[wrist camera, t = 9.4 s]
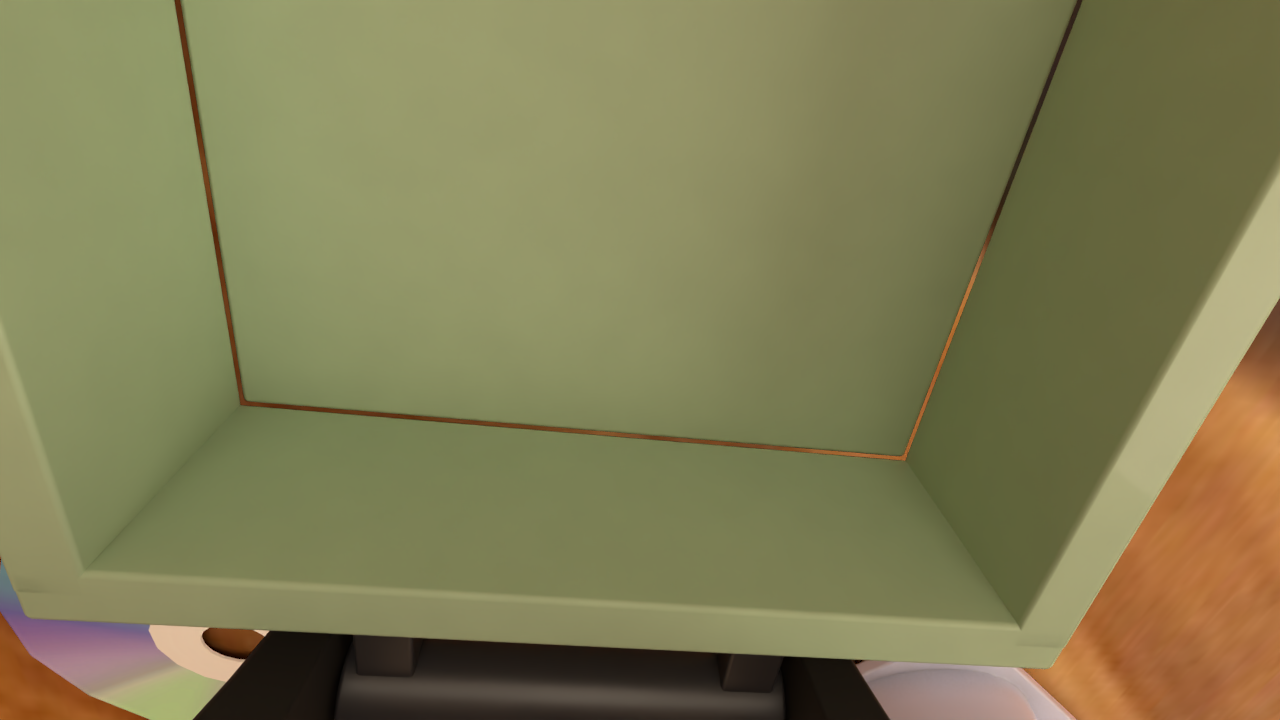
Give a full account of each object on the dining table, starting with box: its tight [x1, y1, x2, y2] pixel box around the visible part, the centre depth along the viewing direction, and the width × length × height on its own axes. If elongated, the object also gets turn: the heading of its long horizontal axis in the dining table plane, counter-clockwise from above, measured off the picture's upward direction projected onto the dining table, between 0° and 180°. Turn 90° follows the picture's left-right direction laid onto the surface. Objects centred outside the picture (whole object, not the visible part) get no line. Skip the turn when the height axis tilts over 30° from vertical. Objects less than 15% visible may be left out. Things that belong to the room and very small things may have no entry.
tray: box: [0, 0, 1280, 720], centre depth 9 cm, size 13×13×4 cm
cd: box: [0, 560, 269, 720], centre depth 18 cm, size 11×11×1 cm
